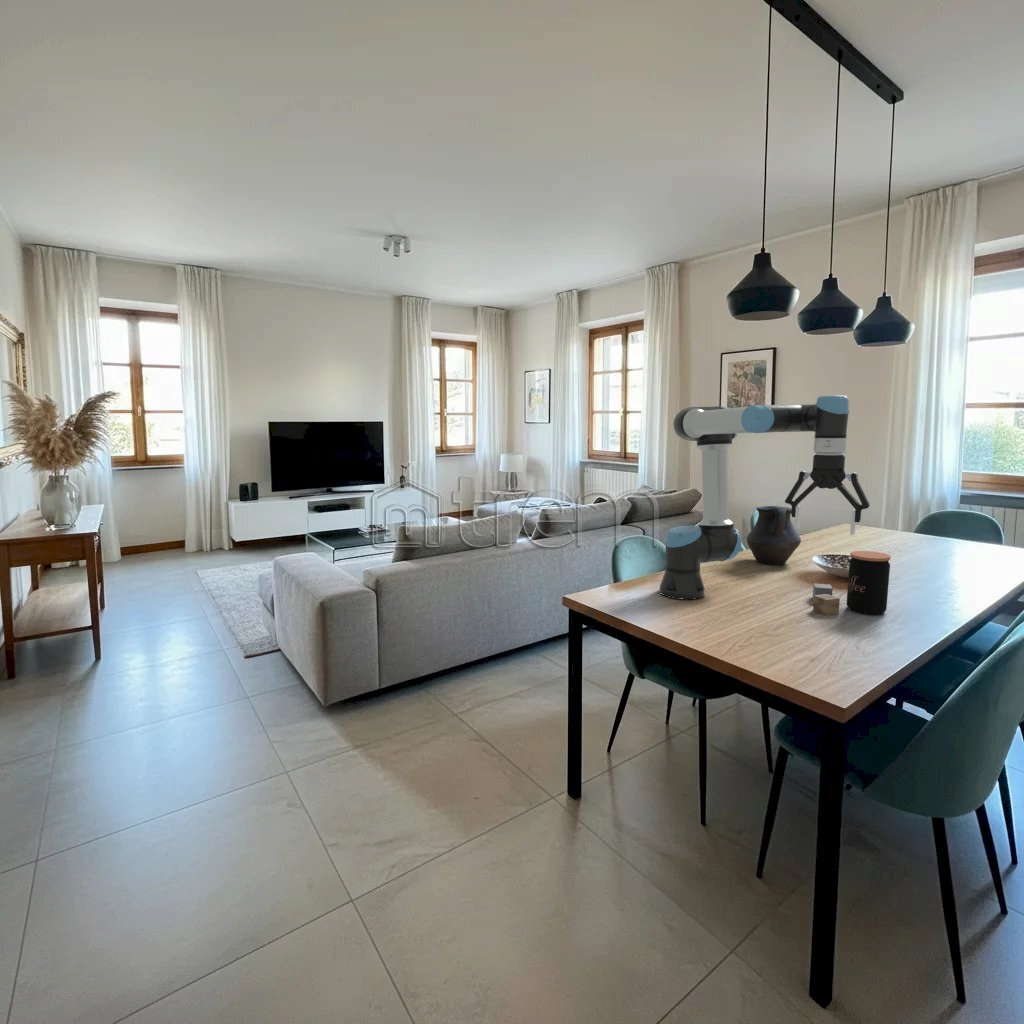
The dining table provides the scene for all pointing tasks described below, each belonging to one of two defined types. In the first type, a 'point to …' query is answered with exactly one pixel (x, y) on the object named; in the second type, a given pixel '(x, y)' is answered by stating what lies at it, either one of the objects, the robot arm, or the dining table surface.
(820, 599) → the walnut block
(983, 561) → the dining table surface
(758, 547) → the pitcher
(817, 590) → the grey cube
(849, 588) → the coffee jar
